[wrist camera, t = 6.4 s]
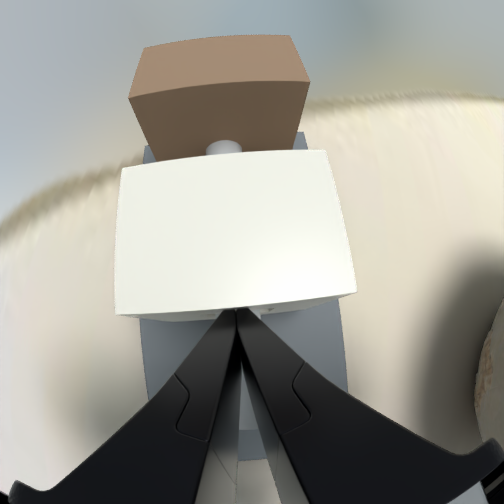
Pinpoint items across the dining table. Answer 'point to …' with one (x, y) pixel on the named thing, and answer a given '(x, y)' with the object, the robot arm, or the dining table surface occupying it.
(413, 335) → the dining table surface
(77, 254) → the dining table surface
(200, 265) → the sleeve
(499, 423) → the ceramic bowl
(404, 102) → the dining table surface
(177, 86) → the rod stand
